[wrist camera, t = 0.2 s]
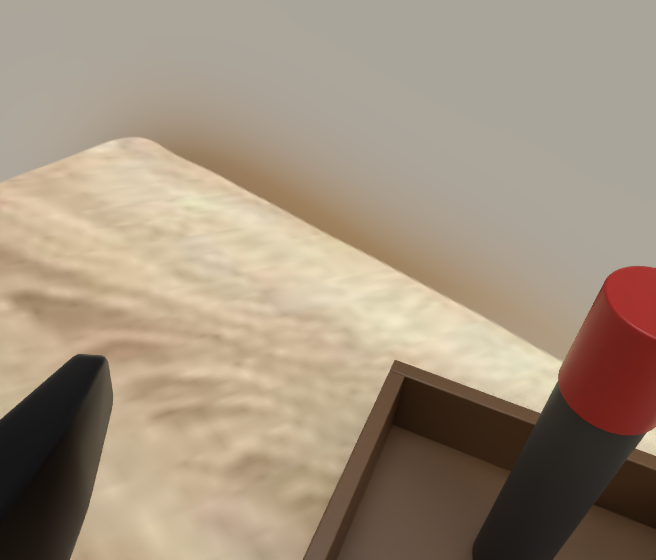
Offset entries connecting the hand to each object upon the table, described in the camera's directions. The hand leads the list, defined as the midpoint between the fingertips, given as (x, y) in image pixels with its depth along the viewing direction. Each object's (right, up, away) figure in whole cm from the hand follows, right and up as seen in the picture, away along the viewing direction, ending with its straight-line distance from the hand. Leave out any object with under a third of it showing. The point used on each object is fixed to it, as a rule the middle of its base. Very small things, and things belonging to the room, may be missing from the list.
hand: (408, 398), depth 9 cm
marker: (+6, -9, +15) cm, 18 cm away
